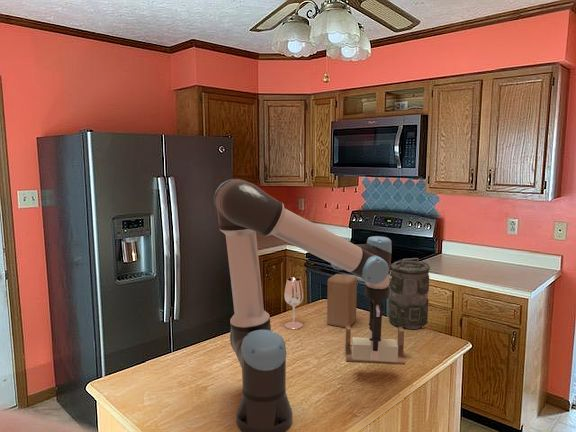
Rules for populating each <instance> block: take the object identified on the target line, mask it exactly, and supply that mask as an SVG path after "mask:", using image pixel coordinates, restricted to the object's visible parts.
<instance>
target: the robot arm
mask: <svg viewBox="0 0 576 432" xmlns="http://www.w3.org/2000/svg"><path fill="white" fill-rule="evenodd" d="M213 204H214V208H215V209H216V211H217V220H218V226H219V227H218V228H219V231H220V232H222V234H224V235H225V240H226V241H225V242H226V249H227V250H226V252H227V257H228V268H229V276H230V285H231V294H232V303H233V312H234V314H233V315H232V317H231V318H230V320H229V321H230V333H229V334H230V335H229V341H230V342H229V343H230V346H231V349H232V350H233V352H234V354H235V355H236V359H237V361H238V362H239V365H240V368H241V377H242V379H241V380H242V382H241V383H242V387H241V388H242V394H241V398H240V401H239V404H238V407H237V411H236V425H237V427H238V429H239V430H240V431H241V432H285V431H286V430H288V429H289V428H290V427H291V425H292V423H293V410H292V407H291V404H290V401H289V397H288V395H287V389H286V387H287V386H286V385H287V384H286V382H287V381H286V380H287V379H286V378H287V376H286V375H287V373H286V371H287V370H286V369H287V365H286V363H287V361H286V360H287V348H286V342H285V339H284V338H283V336H281V335H280V334H279V333H277V332H276V331H275V332H273V331H272V327H271V326H272V325H271V317H270V313H268V312H267V311H266V310H265V309H264V298H263V289H262V288H263V287H262V280H261V279H262V278H261V271H260V270H261V269H260V261H259V250H258V241H257V240H258V239H257V233H259V234H261V235H263V236H265V237H268V236H271V235H272V236H274V237H276V238H278V239H280V240H282V241H285V242H286V243H288V244H291V245H293V246H295V247H296V248H299V249H301V250H303V251H306V252H307V253H309V254H311V255H313V256H316V257H317V258H320V259H321V260H324V261H326V262H328V263H330V266H331V267H332V268H333V269H334V270H337V271H346V272H348V273H350V274H352V275H353V276H355V277H357V278H360V279H362V280H363V281H365V286H364V297H365V298H366V299H368V300H370V301H369V303H368V304H369V322H368V326H369V327H368V328H369V331H368V338H369V341H371V348H370V360H379V347H380V341H381V339H382V319H383V314H384V312H383V310H384V304H383V302H382V301H387V300H388V299H390V297H389V296H390V287H389V286H390V280H391V278H392V276H391V264H392V250H393V248H392V240H391V239H390V238H389V237H387V236H379V235H375V236H373V235H372V236H369V237H368V238H367V241H366V243H363V244H354V243H352V242H351V241H348V240H347V239H345V238H343V237H341V236H339V235H337V234H335V233H333V232H331V231H329V230H327V229H326V228H324V227H322V226H320V225H318V224H316V223H314V222H312V221H311V220H308V219H306V218H305V217H303V216H300V215H299V214H296V213H294V212H292V210H288V209H287V208H285V204H284V203H283V202H282V201H279V200H277V199H276V198H274V197H272V196H271V195H269V194H268V193H266V191H264V190H263V189H261V188H260V187H259V186H257V185H256V184H254V183H252V182H250V181H247V180H244V179H242V178H232V179H228V180H225V181H224V182H221V184H220V185H219V186H218V187H217V189H216V190H215V193H214V197H213Z"/></svg>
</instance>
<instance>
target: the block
mask: <svg viewBox="0 0 576 432" xmlns="http://www.w3.org/2000/svg"><path fill="white" fill-rule="evenodd" d="M357 288H358V276H356V275H348V274H341V273H340V274H339V273H335V274H334V275H332V276H331V277H329V278H327V290H326V291H327V296H326V297H327V298H326V300H327V301H326V306H327V307H326V310H327V311H326V320H327V321H326V322H327V325H330V326H334V327H339V328H340V327H341V328H345V329H346V325H350V327H351V326H353V324H354V323H355V322H356V321H357V297H358V296H357V295H358V291H357Z"/></svg>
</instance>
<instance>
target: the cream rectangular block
mask: <svg viewBox="0 0 576 432" xmlns="http://www.w3.org/2000/svg"><path fill="white" fill-rule="evenodd" d="M351 340H352V341H351V345H352V358H353V360H369V361H387V362H397V360H398V341H397V340H396V339H395V338H381V341H380V347H379V360H370V348H371V341H369V337H358V336H357V337H356V336H353V337H352V338H351Z"/></svg>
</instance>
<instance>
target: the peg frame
mask: <svg viewBox="0 0 576 432" xmlns="http://www.w3.org/2000/svg"><path fill="white" fill-rule="evenodd" d="M351 334H352V329H351V326H350V325H346V328H345V344H344V345H345V362H347V363H365V364H366V363H368V364H369V363H370V364H390V365H406V361H405V359H404V345H405V329H404V327H400V326H397V345H398V360H397V362H387V361H369V360H353V358H352V344H351V339H352V338H351Z"/></svg>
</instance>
